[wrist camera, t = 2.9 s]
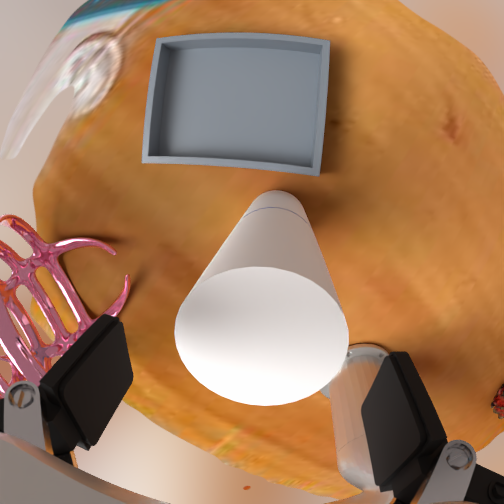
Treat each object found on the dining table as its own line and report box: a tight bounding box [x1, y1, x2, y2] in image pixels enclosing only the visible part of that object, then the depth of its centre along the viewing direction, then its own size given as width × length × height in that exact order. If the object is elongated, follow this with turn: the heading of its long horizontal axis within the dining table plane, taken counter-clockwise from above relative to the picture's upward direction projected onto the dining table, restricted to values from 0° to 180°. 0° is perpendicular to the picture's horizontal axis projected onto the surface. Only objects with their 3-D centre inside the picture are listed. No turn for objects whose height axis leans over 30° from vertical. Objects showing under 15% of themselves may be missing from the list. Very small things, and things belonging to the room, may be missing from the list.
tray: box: [142, 33, 330, 176], centre depth 28 cm, size 20×16×4 cm
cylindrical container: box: [174, 190, 349, 406], centre depth 23 cm, size 7×7×25 cm
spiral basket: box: [0, 214, 131, 399], centre depth 29 cm, size 28×28×27 cm
